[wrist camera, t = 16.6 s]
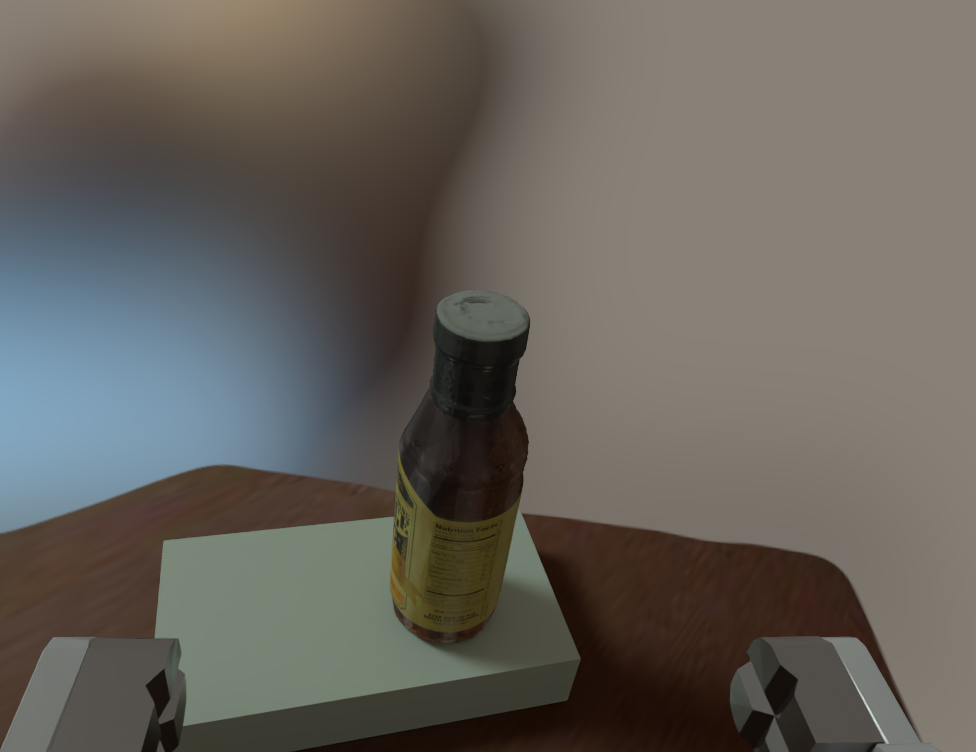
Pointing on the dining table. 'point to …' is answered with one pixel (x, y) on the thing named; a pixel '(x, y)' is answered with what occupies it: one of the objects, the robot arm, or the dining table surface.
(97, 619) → the dining table surface
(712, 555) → the dining table surface
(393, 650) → the pale green rectangular block
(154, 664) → the robot arm
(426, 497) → the sauce bottle
